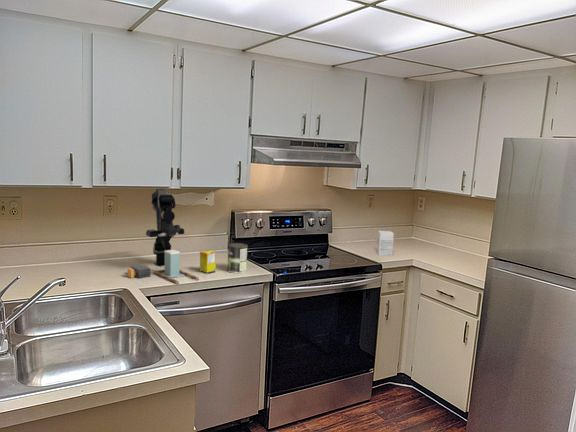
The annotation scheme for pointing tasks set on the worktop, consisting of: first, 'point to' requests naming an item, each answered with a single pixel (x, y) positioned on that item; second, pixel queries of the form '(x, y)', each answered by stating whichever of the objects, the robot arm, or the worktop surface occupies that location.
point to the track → (170, 278)
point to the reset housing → (141, 271)
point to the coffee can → (237, 257)
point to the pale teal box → (172, 262)
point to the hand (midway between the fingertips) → (165, 248)
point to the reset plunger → (131, 272)
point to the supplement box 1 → (207, 261)
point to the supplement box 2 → (385, 243)
